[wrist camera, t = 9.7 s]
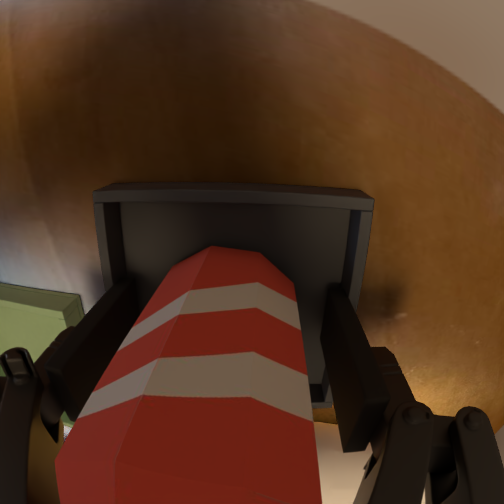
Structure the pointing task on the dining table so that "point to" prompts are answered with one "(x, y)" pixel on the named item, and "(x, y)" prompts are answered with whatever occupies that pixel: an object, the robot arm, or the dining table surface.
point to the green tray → (35, 320)
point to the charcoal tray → (241, 241)
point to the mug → (339, 466)
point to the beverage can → (201, 396)
